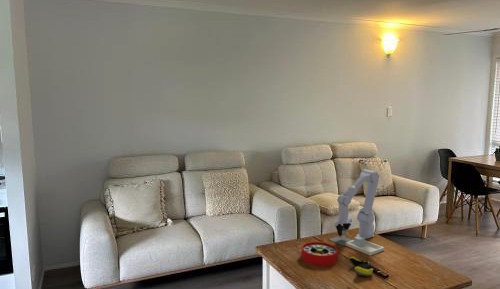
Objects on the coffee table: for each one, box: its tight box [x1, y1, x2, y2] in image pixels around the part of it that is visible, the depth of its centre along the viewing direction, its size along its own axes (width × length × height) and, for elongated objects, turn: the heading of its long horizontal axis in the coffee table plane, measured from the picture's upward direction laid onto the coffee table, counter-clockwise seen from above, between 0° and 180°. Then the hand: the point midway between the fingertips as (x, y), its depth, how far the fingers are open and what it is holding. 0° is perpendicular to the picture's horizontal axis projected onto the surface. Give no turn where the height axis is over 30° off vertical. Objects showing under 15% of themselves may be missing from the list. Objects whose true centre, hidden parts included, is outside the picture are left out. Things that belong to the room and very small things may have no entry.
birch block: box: [337, 228, 349, 239], centre depth 236 cm, size 4×4×5 cm
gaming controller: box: [349, 256, 374, 278], centre depth 195 cm, size 15×6×10 cm
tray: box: [345, 239, 385, 257], centre depth 226 cm, size 18×13×2 cm
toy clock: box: [301, 241, 339, 267], centre depth 212 cm, size 20×6×20 cm
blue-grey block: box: [353, 235, 366, 247], centre depth 229 cm, size 4×4×5 cm
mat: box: [328, 235, 353, 246], centre depth 237 cm, size 12×12×1 cm
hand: (342, 234), depth 237 cm, fingers closed on birch block, 4 cm apart
